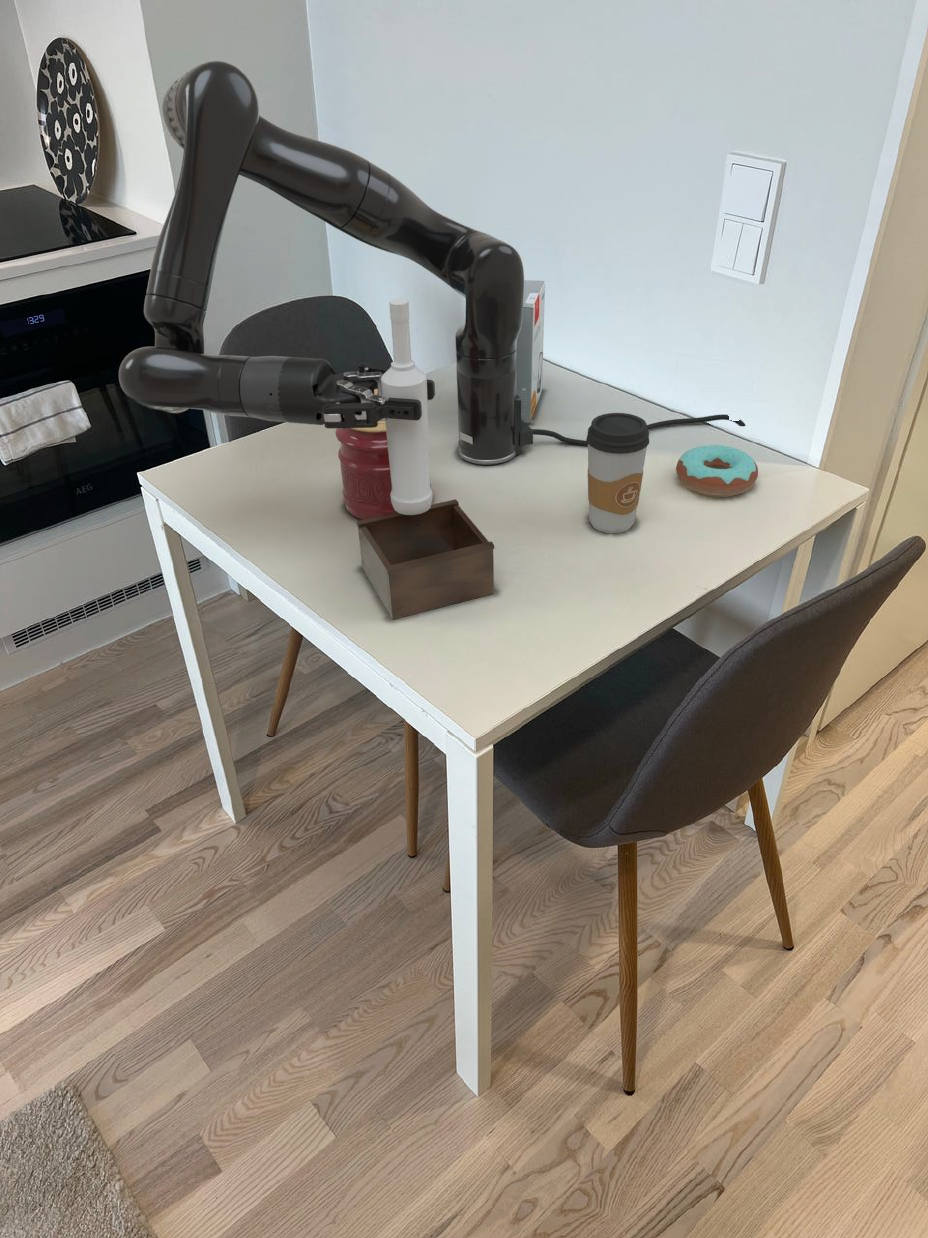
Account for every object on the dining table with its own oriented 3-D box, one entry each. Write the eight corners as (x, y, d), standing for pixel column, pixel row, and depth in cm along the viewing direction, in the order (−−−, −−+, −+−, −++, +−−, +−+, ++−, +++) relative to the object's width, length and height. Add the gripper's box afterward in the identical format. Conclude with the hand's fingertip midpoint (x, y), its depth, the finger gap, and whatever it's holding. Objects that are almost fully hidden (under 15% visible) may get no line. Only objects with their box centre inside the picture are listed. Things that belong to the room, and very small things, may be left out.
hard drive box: (531, 425, 159) (532, 307, 147) (487, 422, 160) (485, 306, 148) (543, 389, 171) (545, 278, 159) (502, 387, 172) (501, 277, 161)
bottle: (390, 496, 117) (374, 295, 102) (431, 494, 117) (421, 292, 102) (391, 517, 113) (374, 310, 98) (434, 514, 113) (424, 308, 98)
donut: (682, 502, 136) (685, 477, 133) (668, 465, 145) (671, 441, 143) (764, 500, 135) (769, 476, 133) (745, 463, 145) (749, 439, 143)
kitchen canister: (411, 530, 131) (402, 413, 121) (328, 517, 135) (314, 402, 125) (444, 489, 141) (439, 377, 131) (366, 477, 145) (356, 367, 135)
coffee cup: (603, 543, 127) (610, 442, 118) (570, 517, 133) (574, 419, 124) (653, 528, 130) (664, 428, 121) (618, 503, 136) (626, 406, 127)
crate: (457, 545, 128) (455, 498, 123) (495, 594, 118) (494, 544, 114) (361, 568, 124) (356, 520, 119) (392, 620, 114) (387, 570, 110)
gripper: (259, 382, 102) (408, 393, 98) (306, 337, 113) (442, 345, 109) (269, 445, 106) (412, 457, 103) (313, 395, 117) (444, 405, 114)
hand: (427, 399), depth 106 cm, fingers closed on bottle, 5 cm apart
